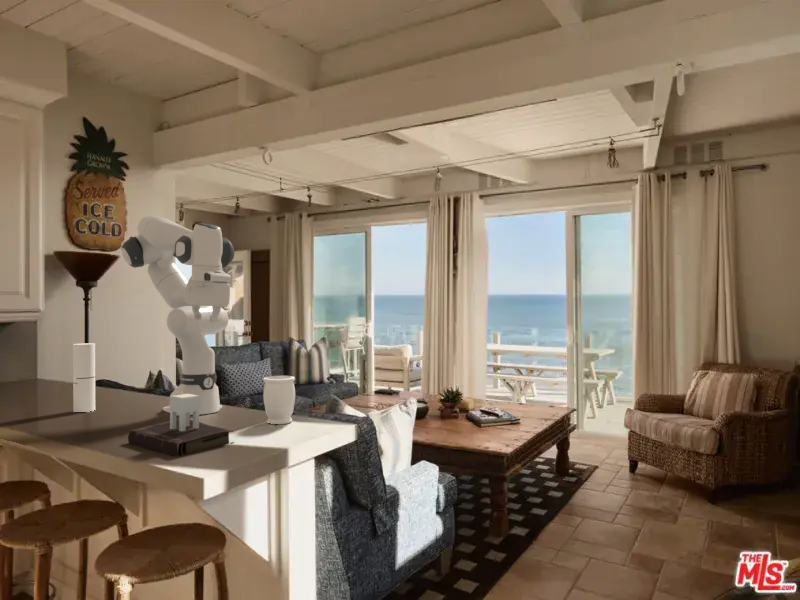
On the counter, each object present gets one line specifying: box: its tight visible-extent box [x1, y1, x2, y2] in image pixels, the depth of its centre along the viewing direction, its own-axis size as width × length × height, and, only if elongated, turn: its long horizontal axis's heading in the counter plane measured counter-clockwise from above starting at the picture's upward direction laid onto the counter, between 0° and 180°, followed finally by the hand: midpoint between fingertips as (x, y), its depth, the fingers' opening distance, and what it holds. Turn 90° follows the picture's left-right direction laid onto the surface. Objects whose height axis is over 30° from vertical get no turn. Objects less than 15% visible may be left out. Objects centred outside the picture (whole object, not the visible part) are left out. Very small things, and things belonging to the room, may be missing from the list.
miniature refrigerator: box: [72, 342, 96, 413], centre depth 210 cm, size 7×7×25 cm
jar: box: [262, 375, 296, 425], centre depth 188 cm, size 11×10×15 cm
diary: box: [127, 419, 235, 458], centre depth 162 cm, size 19×25×5 cm
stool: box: [169, 394, 200, 431], centre depth 162 cm, size 6×6×9 cm
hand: (205, 320), depth 174 cm, fingers open, 8 cm apart
